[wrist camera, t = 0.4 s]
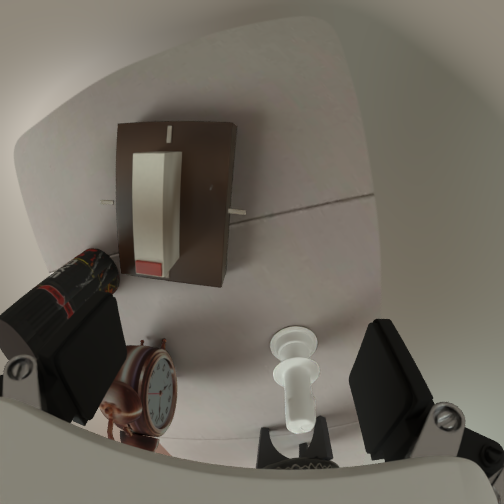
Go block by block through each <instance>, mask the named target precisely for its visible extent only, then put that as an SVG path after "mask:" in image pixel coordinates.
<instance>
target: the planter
mask: <svg viewBox="0 0 504 504" xmlns="http://www.w3.org/2000/svg"><path fill="white" fill-rule="evenodd" d="M331 459H333V454H332V449H331V443H330V438H329V433H328V428H327V423H326V418H324V417H322V416H318V417H317V418H316V422H315V426H314V434H313V438H312V441H311V443H310V446H309V447H308V445H307V443H304V444H300V445H299V458H292V459H289V458H287V457H285V456H283V455H282V454H280V453H279V452H278V451H277V450H276V449H275V447H274V446H273V444H272V442H271V439H270V434H269V428H261V430H260V437H259V446H258V454H257V463H256V469H274V470H312V469H331V468H340V467H339V466H338V465H337V464H336V463H335V462H333V461H330V460H331Z"/></svg>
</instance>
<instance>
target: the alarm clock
mask: <svg viewBox="0 0 504 504" xmlns="http://www.w3.org/2000/svg"><path fill="white" fill-rule="evenodd" d="M162 342H163V343H162V346H161V349H159V348H154V347H149V346H143V343H144V340H141V345H140V346H132V345H129V346H126V348H127V358H126V360H125V362H124V364H123V365H122V367H121V369H120V370H119V372H118V374H117V376H116V377H115V379H114V381H113V383H112V384H111V386H110V388H109V390H108V391H107V393H106V395H105V397H104V398H103V400H102V402H101V404H100V406H99V407H100V410H101V412H102V413H103V415H104V416H105V417H106V418H107V419H108V420H109V422H108V430H107V433H108V438H109V439H112V440H114V438H113V434H112V430H113V423H115V424H116V426H117V427H119V428H121V429H123V430H124V431H120V439H121V443H124V444H127V445H130V446H133V447H137V448H140V449H144V450H147V451H151V452H155V450H156V449H157V447H158V444H159V439H157V438H152V437H148V436H153V437H159V436H162V435H163V434H164V433H165V432H166V431H167V429H168V427H169V426H170V424H171V422H172V419H173V417H174V413H175V408H176V402H177V377H176V371H175V367H174V364H173V362H172V359H171V357H170V355H169V354H168V352H167V351H165V343H166V339H163V340H162ZM143 435H144V436H143ZM114 441H115V440H114Z"/></svg>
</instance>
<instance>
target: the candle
mask: <svg viewBox="0 0 504 504" xmlns="http://www.w3.org/2000/svg"><path fill="white" fill-rule="evenodd" d="M316 348H317V338H316V336H315V334H314V333H313V332H312V331H310V330H309V329H307V328H304V327H299V326H293V327H287V328H284V329H282V330H280V331H279V332H277V333H276V334H275V335H274V336H273V338H272V340H271V342H270V349H271V352H272V353H273V355H274V356H275V357H276V358H278V359H279V360H280V361H281V362H280V363H279V364H278V365H277V366H276V367H275V369H274V371H273V377H274V380H275V381H276V382H277V383H278V384H279V385H281V386H283V387H284V389H285V417H286V427H287V429H288V430H289V431H291V432H293V433H295V434H300V433H304V432H310V431H311V430H312V429H313V427H314V426H315V422H316V414H315V408H316V400H315V398H314V396H313V395H312V388H311V384H312V383H313V382H315V381H316V379H317V378H318V377H319V374H320V368H319V365H318V364H317V363H316V362H315V361H314V360H312V359H309V358H310V357H311V355H312V354H313V353H314V352H315V350H316Z"/></svg>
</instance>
